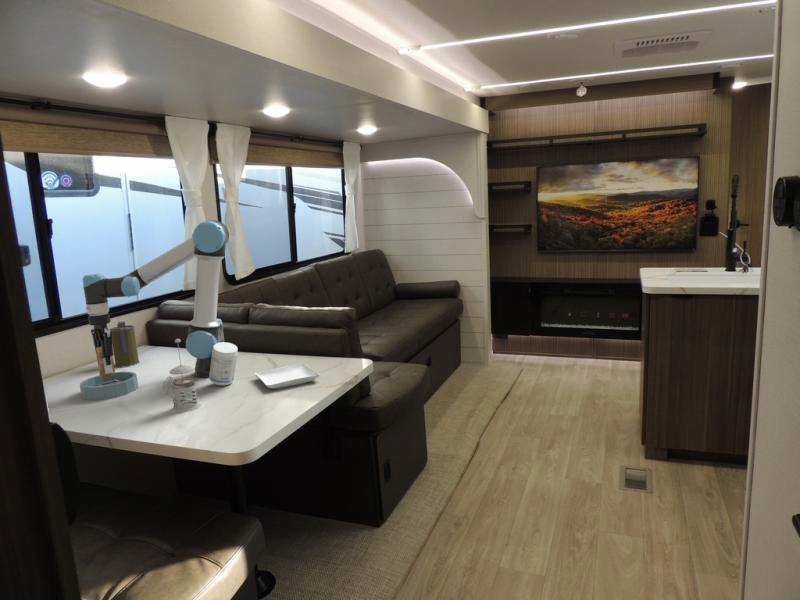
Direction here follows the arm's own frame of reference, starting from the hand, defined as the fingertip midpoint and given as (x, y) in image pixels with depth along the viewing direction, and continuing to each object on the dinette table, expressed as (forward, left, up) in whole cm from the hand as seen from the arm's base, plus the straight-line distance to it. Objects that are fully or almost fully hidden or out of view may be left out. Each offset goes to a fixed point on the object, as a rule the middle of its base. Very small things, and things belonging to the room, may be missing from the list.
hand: (107, 372), depth 229 cm
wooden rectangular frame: (0, 0, -2) cm, 2 cm away
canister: (+36, -24, -8) cm, 44 cm away
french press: (-46, -5, -8) cm, 47 cm away
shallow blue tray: (0, 0, -8) cm, 8 cm away
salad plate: (-54, -45, -9) cm, 71 cm away
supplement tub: (-33, -29, -7) cm, 45 cm away
